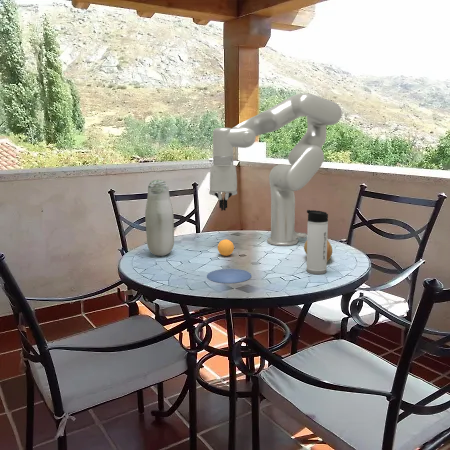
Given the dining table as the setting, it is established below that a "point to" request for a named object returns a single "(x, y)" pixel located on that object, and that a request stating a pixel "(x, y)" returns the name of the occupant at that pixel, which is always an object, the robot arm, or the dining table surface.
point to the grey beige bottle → (159, 219)
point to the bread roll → (329, 249)
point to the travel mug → (317, 242)
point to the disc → (229, 275)
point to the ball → (225, 247)
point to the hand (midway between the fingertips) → (223, 209)
